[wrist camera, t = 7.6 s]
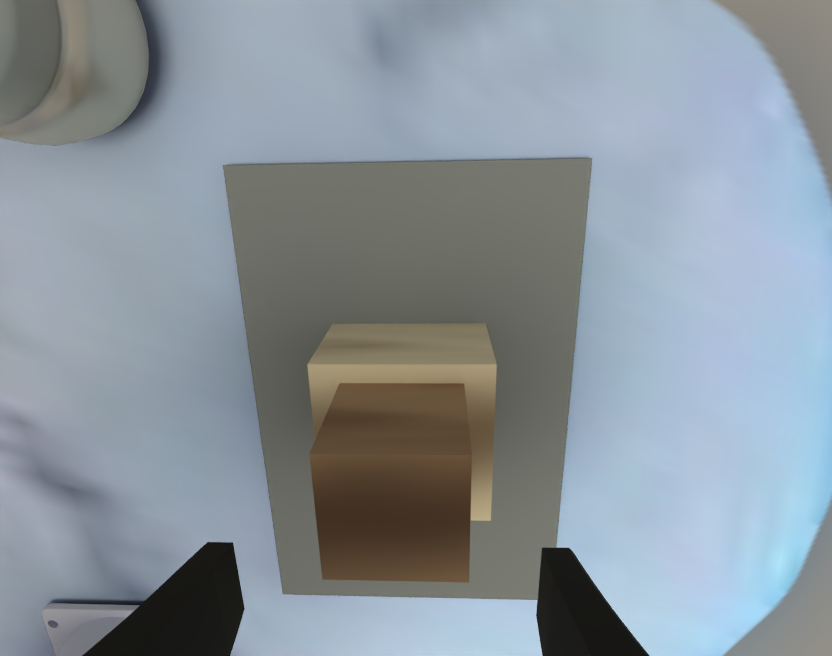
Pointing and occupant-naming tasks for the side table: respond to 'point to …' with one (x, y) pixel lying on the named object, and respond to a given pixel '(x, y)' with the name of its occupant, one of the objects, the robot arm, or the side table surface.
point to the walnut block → (394, 483)
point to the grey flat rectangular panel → (417, 303)
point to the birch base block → (416, 377)
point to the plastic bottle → (69, 68)
